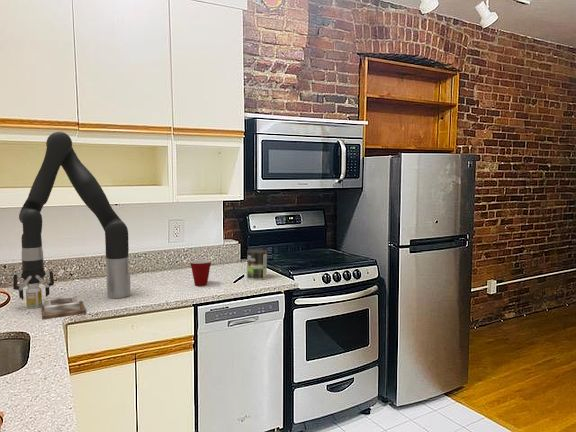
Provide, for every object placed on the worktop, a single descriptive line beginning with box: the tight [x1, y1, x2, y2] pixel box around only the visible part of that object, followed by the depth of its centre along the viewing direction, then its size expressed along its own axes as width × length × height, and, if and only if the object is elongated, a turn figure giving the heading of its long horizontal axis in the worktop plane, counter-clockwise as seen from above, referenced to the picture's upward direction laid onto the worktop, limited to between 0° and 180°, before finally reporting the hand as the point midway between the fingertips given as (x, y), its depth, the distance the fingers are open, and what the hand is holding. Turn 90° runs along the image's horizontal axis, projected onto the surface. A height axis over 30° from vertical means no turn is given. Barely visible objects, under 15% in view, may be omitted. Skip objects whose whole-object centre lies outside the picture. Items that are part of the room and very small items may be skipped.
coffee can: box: [246, 248, 268, 281], centre depth 233 cm, size 10×10×14 cm
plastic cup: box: [188, 259, 213, 287], centre depth 218 cm, size 11×11×12 cm
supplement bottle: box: [25, 282, 43, 309], centre depth 183 cm, size 5×5×10 cm
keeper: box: [40, 295, 87, 320], centre depth 178 cm, size 15×14×4 cm
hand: (34, 297), depth 183 cm, fingers open, 8 cm apart
